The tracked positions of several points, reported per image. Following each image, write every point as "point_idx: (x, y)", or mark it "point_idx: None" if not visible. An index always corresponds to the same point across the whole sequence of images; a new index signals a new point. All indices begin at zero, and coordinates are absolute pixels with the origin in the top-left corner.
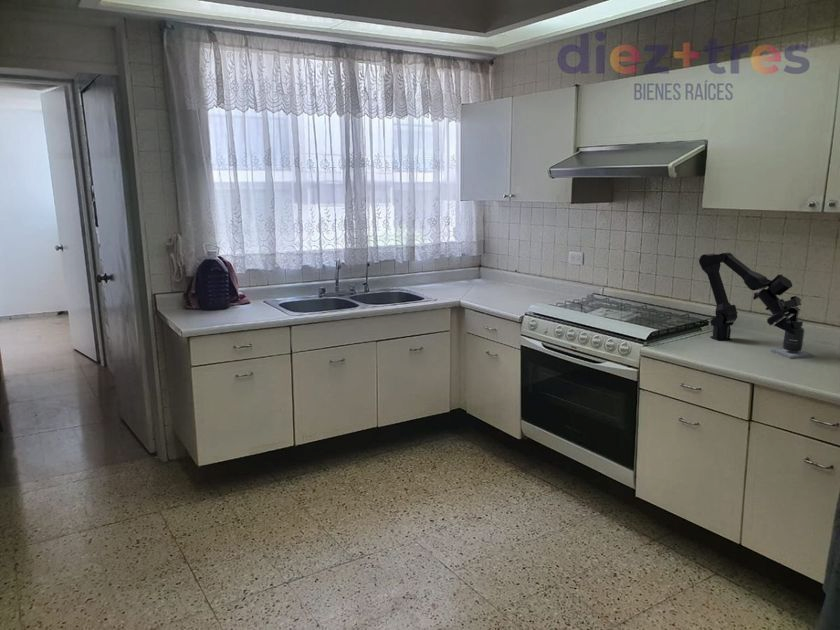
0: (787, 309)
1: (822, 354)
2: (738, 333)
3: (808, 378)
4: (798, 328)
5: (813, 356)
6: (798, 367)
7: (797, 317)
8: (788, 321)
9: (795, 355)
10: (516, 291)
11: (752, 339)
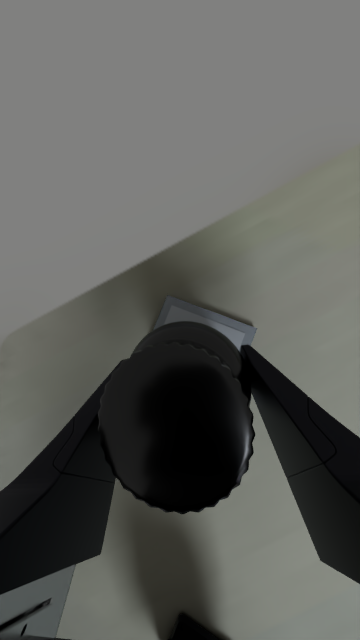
0: None
1: (122, 299)
2: (62, 636)
3: None
4: (213, 345)
5: (173, 297)
6: (336, 257)
7: (5, 491)
8: (96, 514)
9: (226, 326)
10: None
11: (108, 549)
